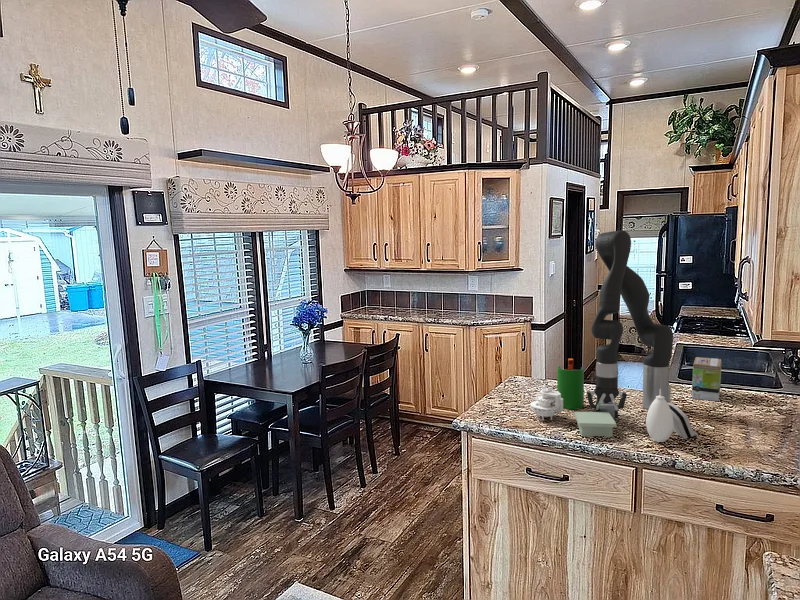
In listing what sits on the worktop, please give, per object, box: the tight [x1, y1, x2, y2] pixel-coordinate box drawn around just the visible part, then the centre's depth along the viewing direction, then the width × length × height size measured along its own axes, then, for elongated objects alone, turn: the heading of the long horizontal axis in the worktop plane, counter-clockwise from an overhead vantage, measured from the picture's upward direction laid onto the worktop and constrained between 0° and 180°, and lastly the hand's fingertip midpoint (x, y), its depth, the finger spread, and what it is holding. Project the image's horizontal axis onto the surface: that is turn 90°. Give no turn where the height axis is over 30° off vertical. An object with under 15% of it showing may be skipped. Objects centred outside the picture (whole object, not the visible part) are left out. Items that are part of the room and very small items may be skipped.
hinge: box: [668, 402, 700, 440], centre depth 186 cm, size 17×5×10 cm, turn 178°
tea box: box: [691, 356, 722, 402], centre depth 223 cm, size 15×10×15 cm, turn 148°
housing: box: [596, 396, 616, 422], centre depth 198 cm, size 5×9×8 cm, turn 168°
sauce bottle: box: [645, 389, 673, 443], centre depth 175 cm, size 8×8×18 cm
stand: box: [573, 411, 617, 438], centre depth 187 cm, size 12×12×5 cm
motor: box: [556, 358, 585, 410], centre depth 214 cm, size 10×9×20 cm
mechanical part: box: [529, 385, 564, 421], centre depth 202 cm, size 11×12×12 cm
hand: (606, 419), depth 196 cm, fingers closed on housing, 5 cm apart
